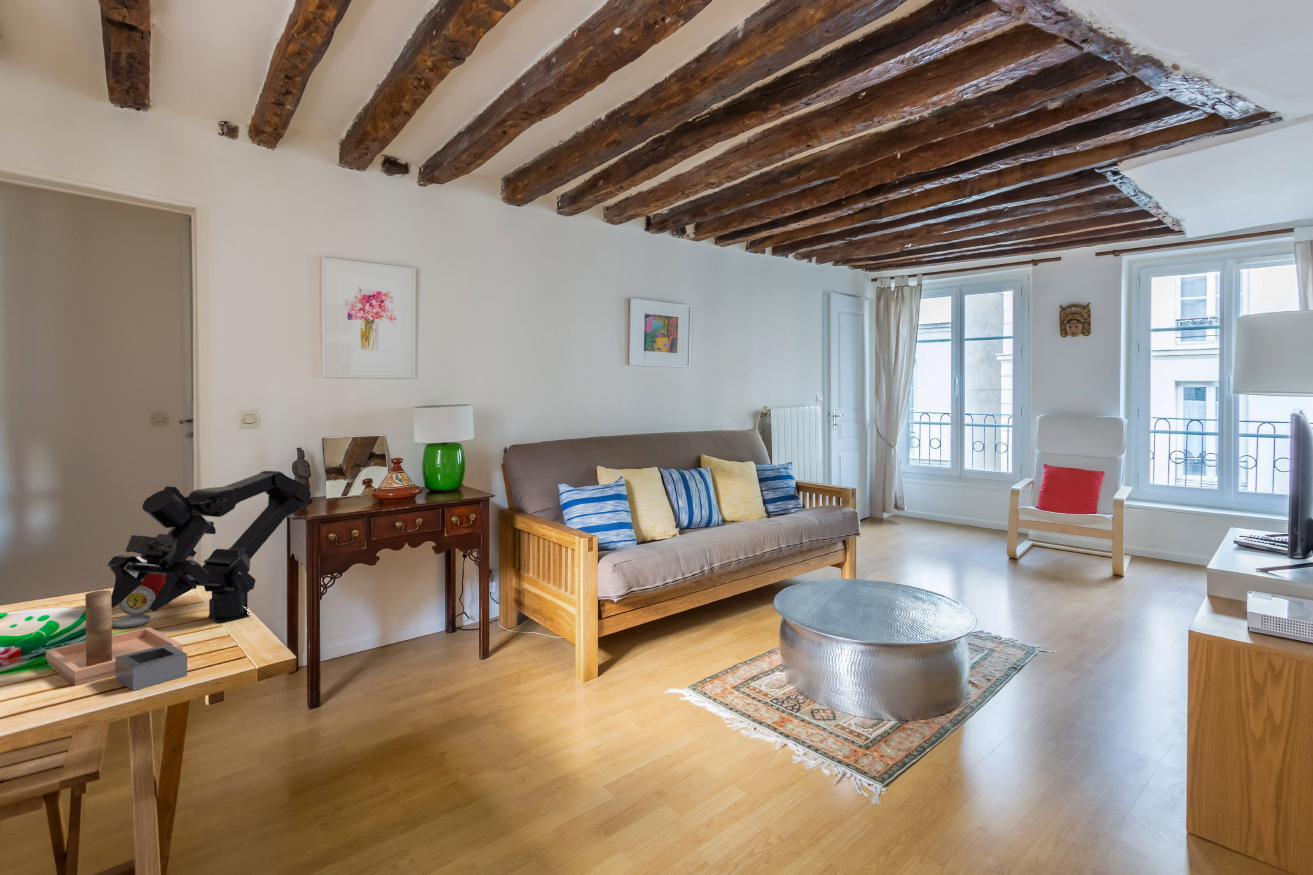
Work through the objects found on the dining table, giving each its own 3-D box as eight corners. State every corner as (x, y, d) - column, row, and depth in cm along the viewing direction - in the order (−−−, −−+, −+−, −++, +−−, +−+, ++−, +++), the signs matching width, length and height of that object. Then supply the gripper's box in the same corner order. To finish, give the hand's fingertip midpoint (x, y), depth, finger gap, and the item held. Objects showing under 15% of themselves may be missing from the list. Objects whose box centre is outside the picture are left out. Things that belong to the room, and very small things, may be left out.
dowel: (113, 657, 121) (112, 589, 120) (110, 663, 118) (110, 594, 117) (87, 661, 119) (87, 592, 118) (84, 667, 116) (83, 597, 115)
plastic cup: (153, 596, 160) (153, 549, 160) (191, 599, 159) (191, 552, 158) (111, 610, 150) (110, 559, 149) (151, 613, 148) (151, 562, 148)
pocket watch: (119, 631, 137) (119, 585, 136) (104, 623, 141) (103, 578, 141) (164, 621, 144) (164, 577, 143) (148, 613, 148) (148, 571, 148)
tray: (149, 638, 133) (149, 626, 133) (182, 657, 124) (182, 644, 124) (46, 663, 120) (45, 649, 120) (75, 685, 111) (74, 671, 111)
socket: (168, 664, 121) (168, 643, 121) (187, 675, 116) (187, 653, 116) (115, 678, 114) (115, 656, 114) (133, 690, 110) (132, 668, 110)
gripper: (115, 515, 130) (58, 584, 120) (196, 521, 127) (144, 591, 117) (152, 545, 138) (101, 612, 128) (228, 551, 135) (183, 619, 125)
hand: (131, 608), depth 124 cm, fingers open, 9 cm apart
